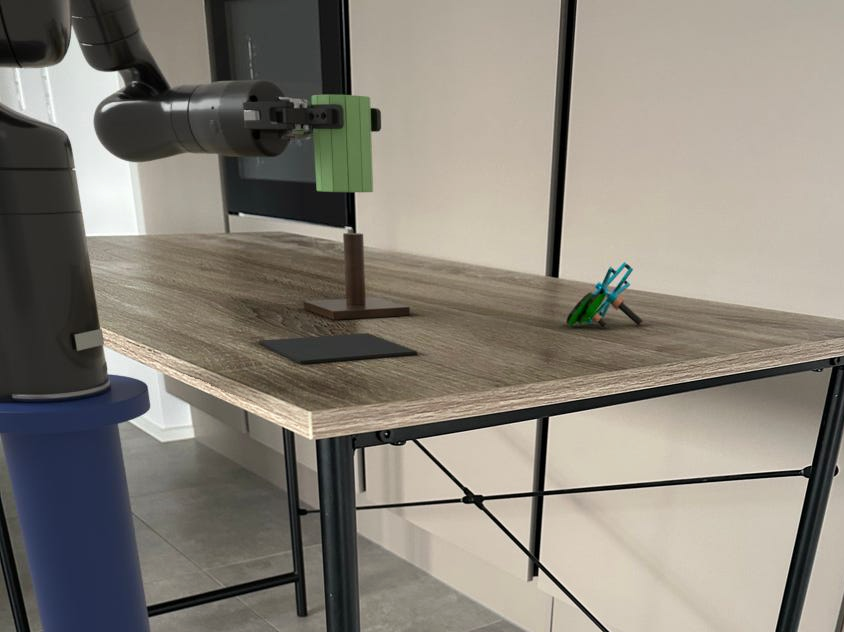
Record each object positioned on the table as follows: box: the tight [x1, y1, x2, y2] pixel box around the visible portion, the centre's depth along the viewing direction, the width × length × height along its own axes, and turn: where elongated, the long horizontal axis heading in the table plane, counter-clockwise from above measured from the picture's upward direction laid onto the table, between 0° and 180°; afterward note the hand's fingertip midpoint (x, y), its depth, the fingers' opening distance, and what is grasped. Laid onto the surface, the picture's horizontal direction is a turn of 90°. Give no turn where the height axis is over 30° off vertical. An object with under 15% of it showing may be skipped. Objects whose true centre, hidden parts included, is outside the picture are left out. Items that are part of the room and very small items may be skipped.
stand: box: [303, 232, 411, 321], centre depth 115 cm, size 10×10×9 cm
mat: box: [258, 332, 418, 365], centre depth 94 cm, size 12×12×1 cm
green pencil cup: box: [311, 94, 374, 193], centre depth 101 cm, size 6×6×9 cm
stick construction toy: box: [565, 261, 643, 328], centre depth 110 cm, size 12×7×8 cm
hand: (360, 118), depth 98 cm, fingers closed on green pencil cup, 6 cm apart
